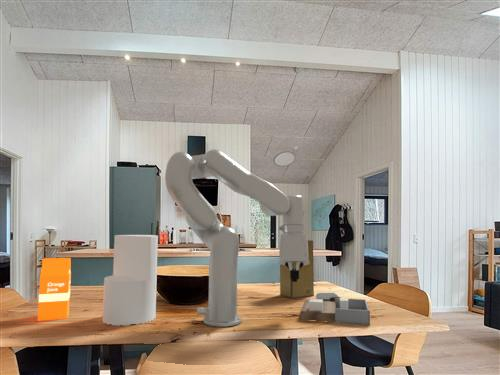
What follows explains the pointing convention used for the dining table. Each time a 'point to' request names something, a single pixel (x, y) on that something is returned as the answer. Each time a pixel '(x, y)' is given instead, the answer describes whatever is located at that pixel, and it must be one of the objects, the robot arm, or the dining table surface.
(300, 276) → the food packaging
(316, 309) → the white rectangular block
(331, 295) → the cleaver
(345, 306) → the tile
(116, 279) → the white stepped block
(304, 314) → the board
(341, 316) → the tray
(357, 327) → the dining table surface
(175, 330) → the dining table surface
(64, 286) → the orange juice
